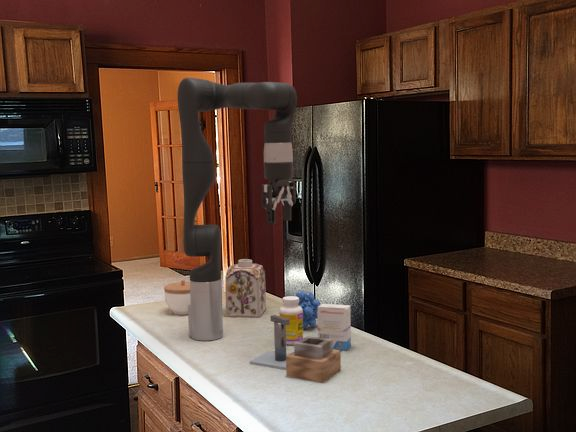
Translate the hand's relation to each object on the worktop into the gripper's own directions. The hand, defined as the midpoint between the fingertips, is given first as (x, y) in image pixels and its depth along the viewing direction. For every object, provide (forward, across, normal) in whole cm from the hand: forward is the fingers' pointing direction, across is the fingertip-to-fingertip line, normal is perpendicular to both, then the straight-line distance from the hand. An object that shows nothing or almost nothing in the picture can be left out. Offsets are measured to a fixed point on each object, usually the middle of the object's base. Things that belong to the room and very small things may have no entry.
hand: (279, 222), depth 173 cm
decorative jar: (+36, +33, +32) cm, 59 cm away
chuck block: (+36, -9, -14) cm, 39 cm away
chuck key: (+35, -5, -3) cm, 36 cm away
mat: (+36, -5, -2) cm, 36 cm away
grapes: (+36, +24, +5) cm, 44 cm away
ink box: (+36, +12, -10) cm, 39 cm away
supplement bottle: (+36, +11, +3) cm, 38 cm away
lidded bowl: (+36, +25, +52) cm, 68 cm away
